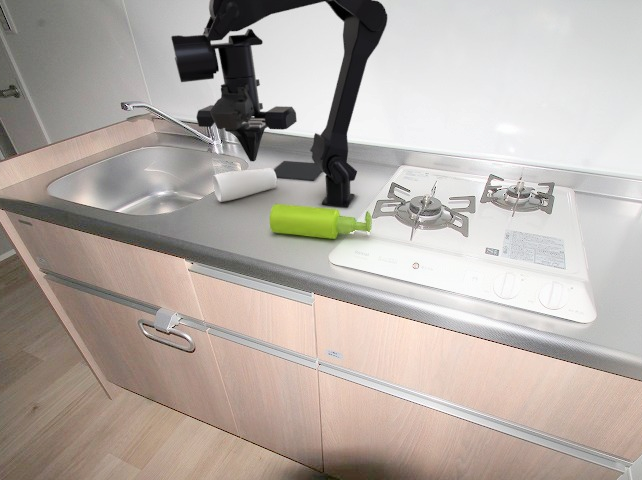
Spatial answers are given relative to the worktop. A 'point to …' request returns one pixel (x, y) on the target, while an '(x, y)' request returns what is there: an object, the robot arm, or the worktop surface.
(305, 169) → the drying mat
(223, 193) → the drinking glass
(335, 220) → the soap dispenser
